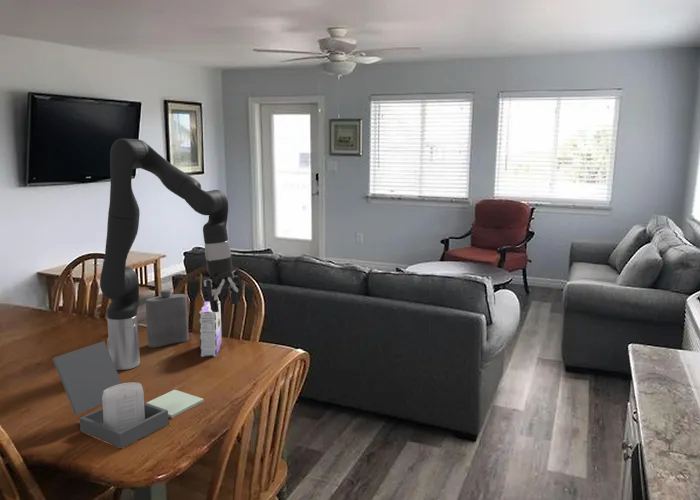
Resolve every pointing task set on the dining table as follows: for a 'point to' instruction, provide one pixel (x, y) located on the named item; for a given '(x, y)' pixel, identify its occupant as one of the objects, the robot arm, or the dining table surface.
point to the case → (120, 439)
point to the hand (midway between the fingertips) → (225, 307)
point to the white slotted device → (123, 405)
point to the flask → (167, 319)
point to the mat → (176, 402)
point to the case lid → (86, 375)
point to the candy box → (210, 330)
